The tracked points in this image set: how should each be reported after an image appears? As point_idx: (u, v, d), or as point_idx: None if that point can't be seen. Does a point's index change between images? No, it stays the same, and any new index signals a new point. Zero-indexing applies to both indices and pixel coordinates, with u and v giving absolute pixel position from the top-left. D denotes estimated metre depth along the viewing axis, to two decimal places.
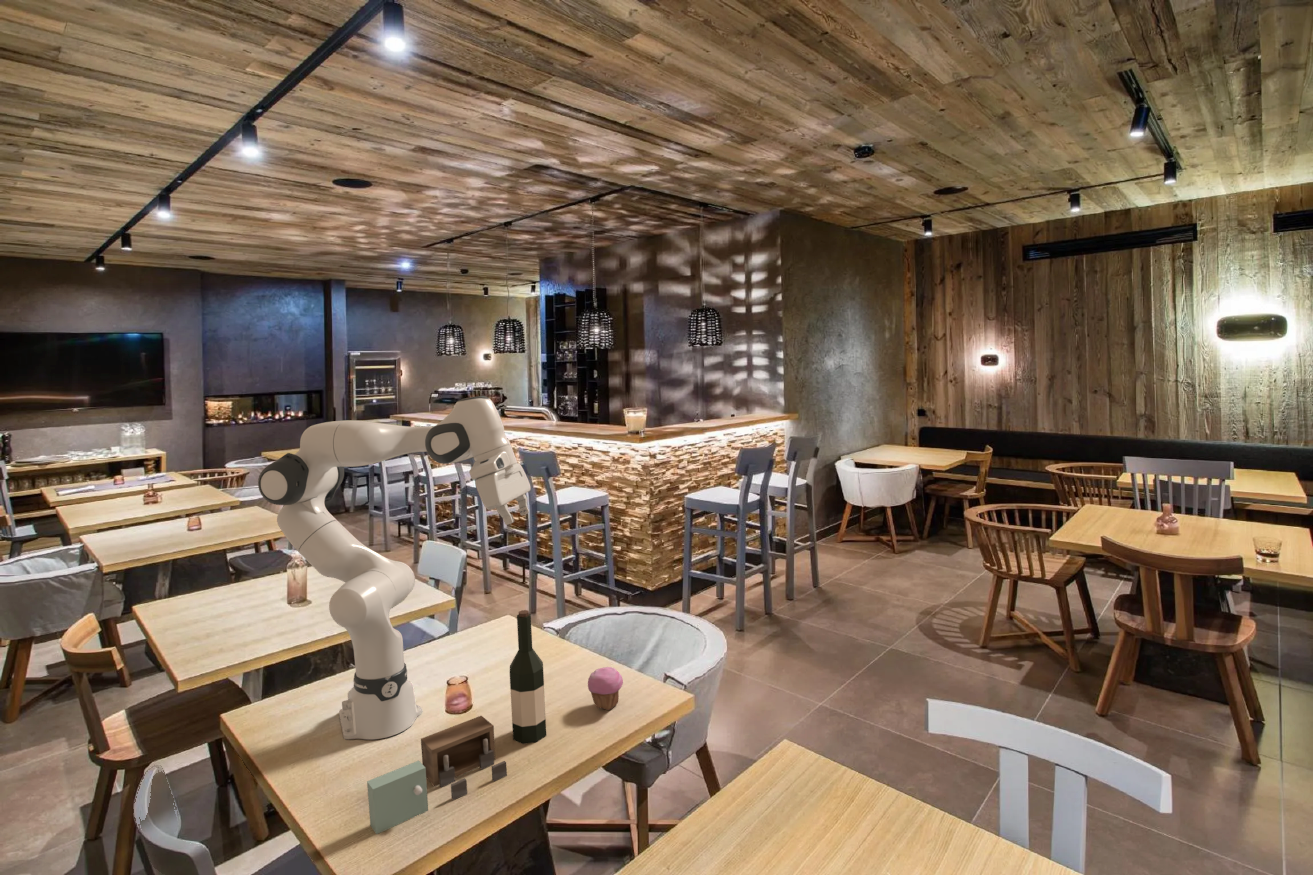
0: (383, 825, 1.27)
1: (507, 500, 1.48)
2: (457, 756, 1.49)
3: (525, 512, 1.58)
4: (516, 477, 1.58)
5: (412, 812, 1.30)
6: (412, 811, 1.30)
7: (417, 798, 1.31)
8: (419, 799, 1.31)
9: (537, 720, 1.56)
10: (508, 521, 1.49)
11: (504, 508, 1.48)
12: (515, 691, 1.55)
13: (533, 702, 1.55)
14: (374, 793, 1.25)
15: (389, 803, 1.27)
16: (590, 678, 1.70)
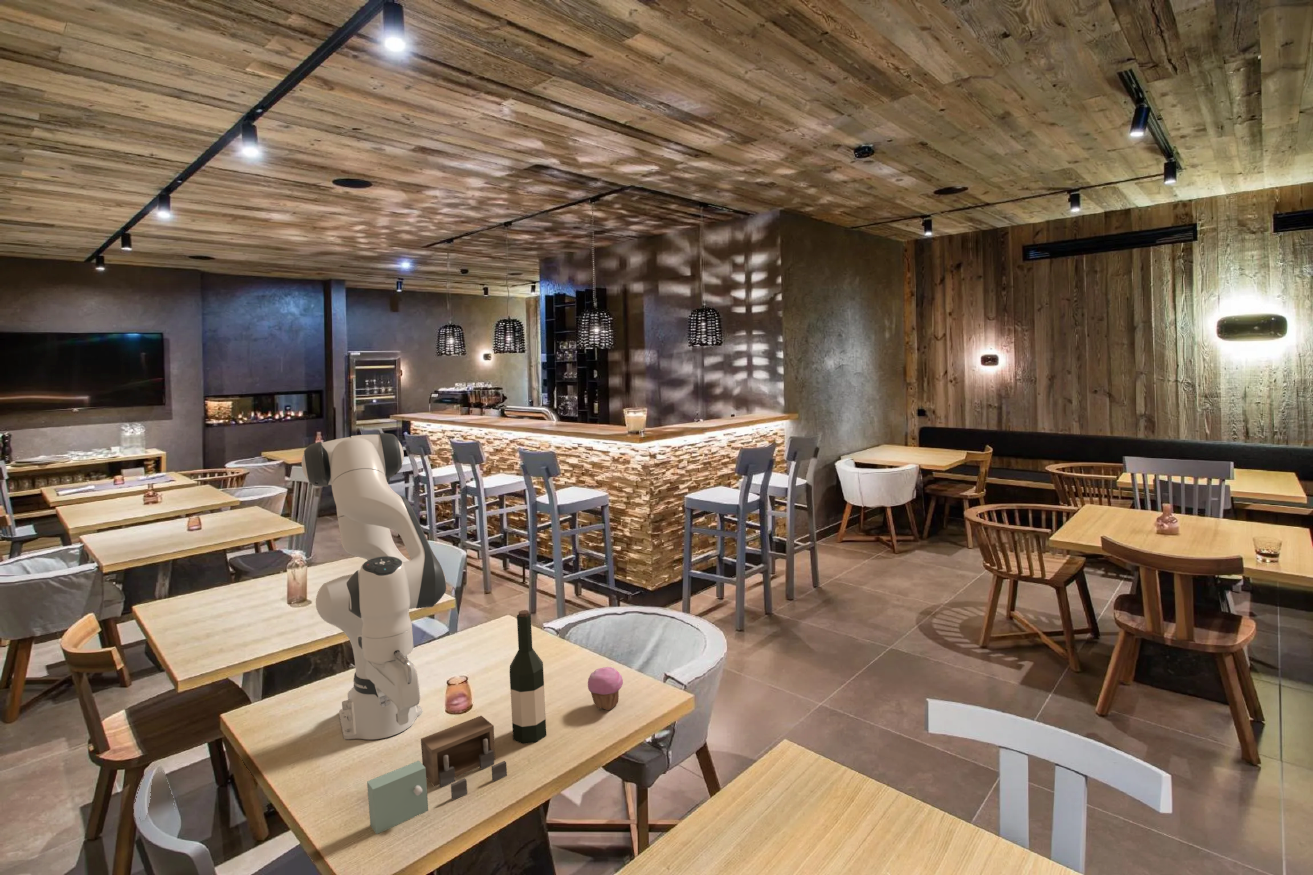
0: (383, 825, 1.27)
1: (371, 680, 1.31)
2: (457, 756, 1.49)
3: None
4: (389, 678, 1.24)
5: (412, 812, 1.30)
6: (412, 811, 1.30)
7: (417, 799, 1.31)
8: (419, 799, 1.31)
9: (537, 720, 1.56)
10: None
11: None
12: (515, 691, 1.55)
13: (533, 702, 1.55)
14: (374, 793, 1.25)
15: (389, 803, 1.27)
16: (590, 678, 1.70)
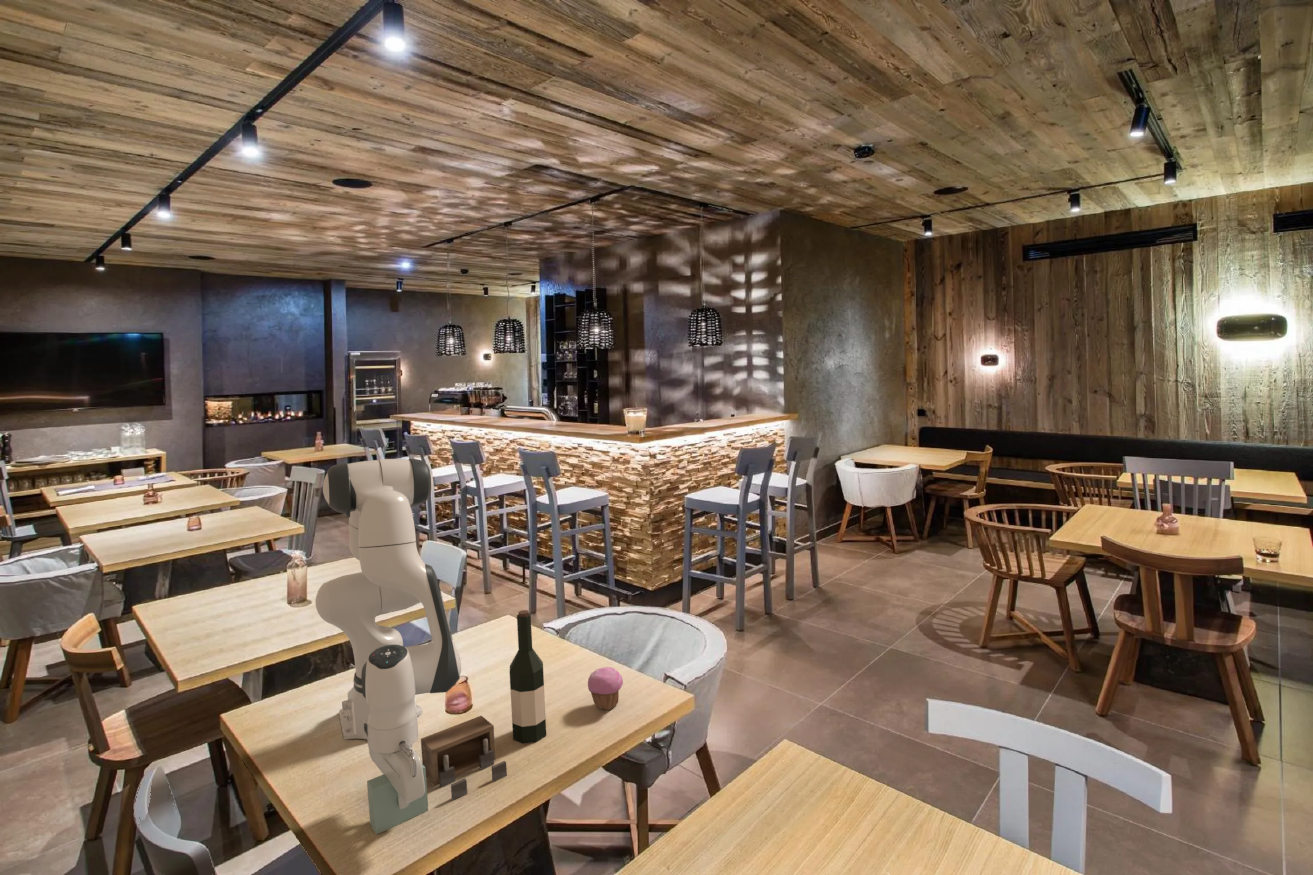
0: (383, 825, 1.27)
1: (377, 766, 1.33)
2: (457, 756, 1.49)
3: None
4: (394, 768, 1.25)
5: (412, 812, 1.30)
6: (412, 811, 1.30)
7: None
8: (419, 799, 1.31)
9: (537, 720, 1.56)
10: None
11: None
12: (515, 691, 1.55)
13: (533, 702, 1.55)
14: (374, 793, 1.25)
15: (389, 802, 1.27)
16: (590, 678, 1.70)
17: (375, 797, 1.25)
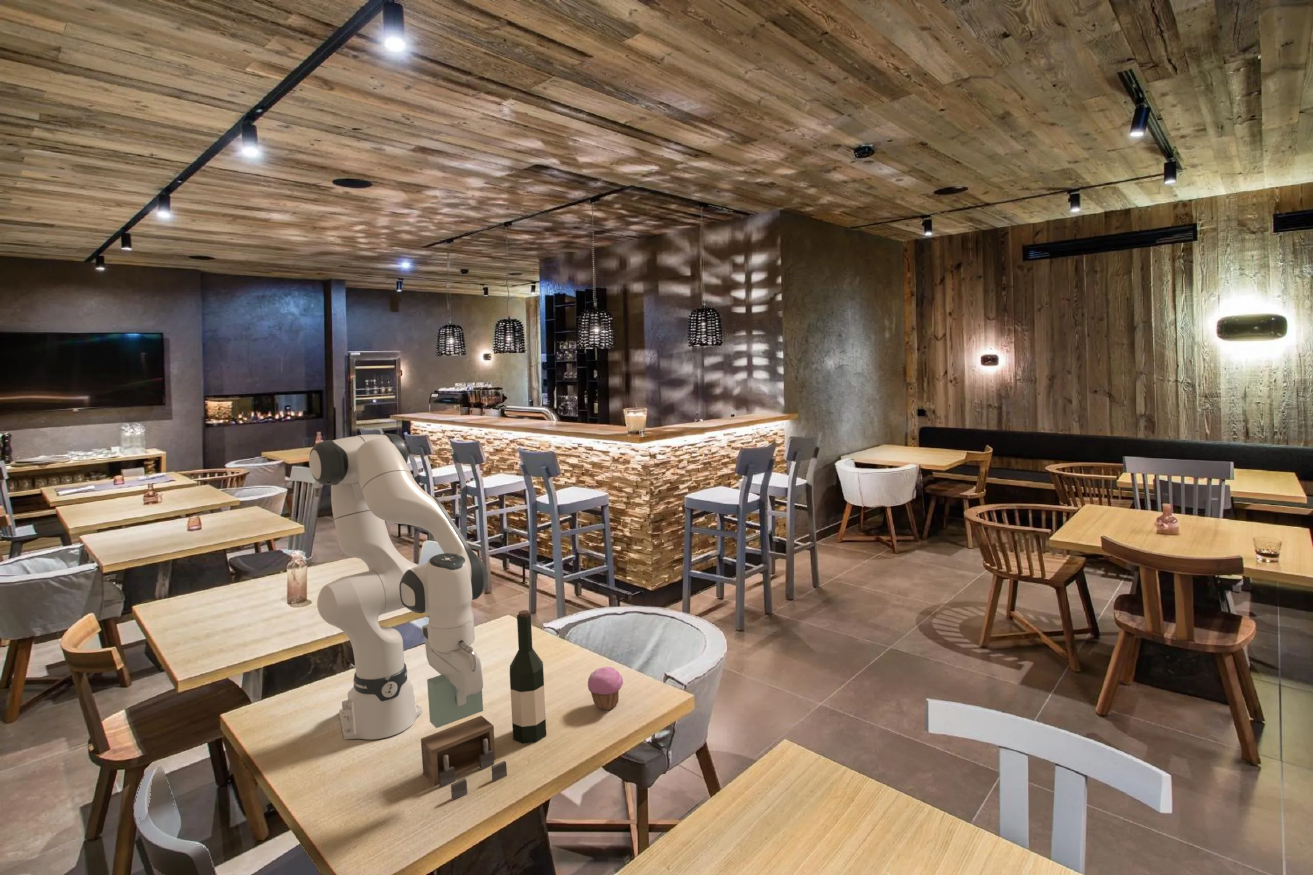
0: (442, 720, 1.34)
1: (435, 668, 1.41)
2: (457, 756, 1.49)
3: None
4: (454, 666, 1.33)
5: (468, 711, 1.38)
6: (468, 710, 1.38)
7: (473, 698, 1.39)
8: (474, 699, 1.39)
9: (537, 720, 1.56)
10: None
11: None
12: (515, 691, 1.55)
13: (533, 702, 1.55)
14: (434, 689, 1.33)
15: (448, 699, 1.35)
16: (590, 678, 1.70)
17: (435, 693, 1.33)
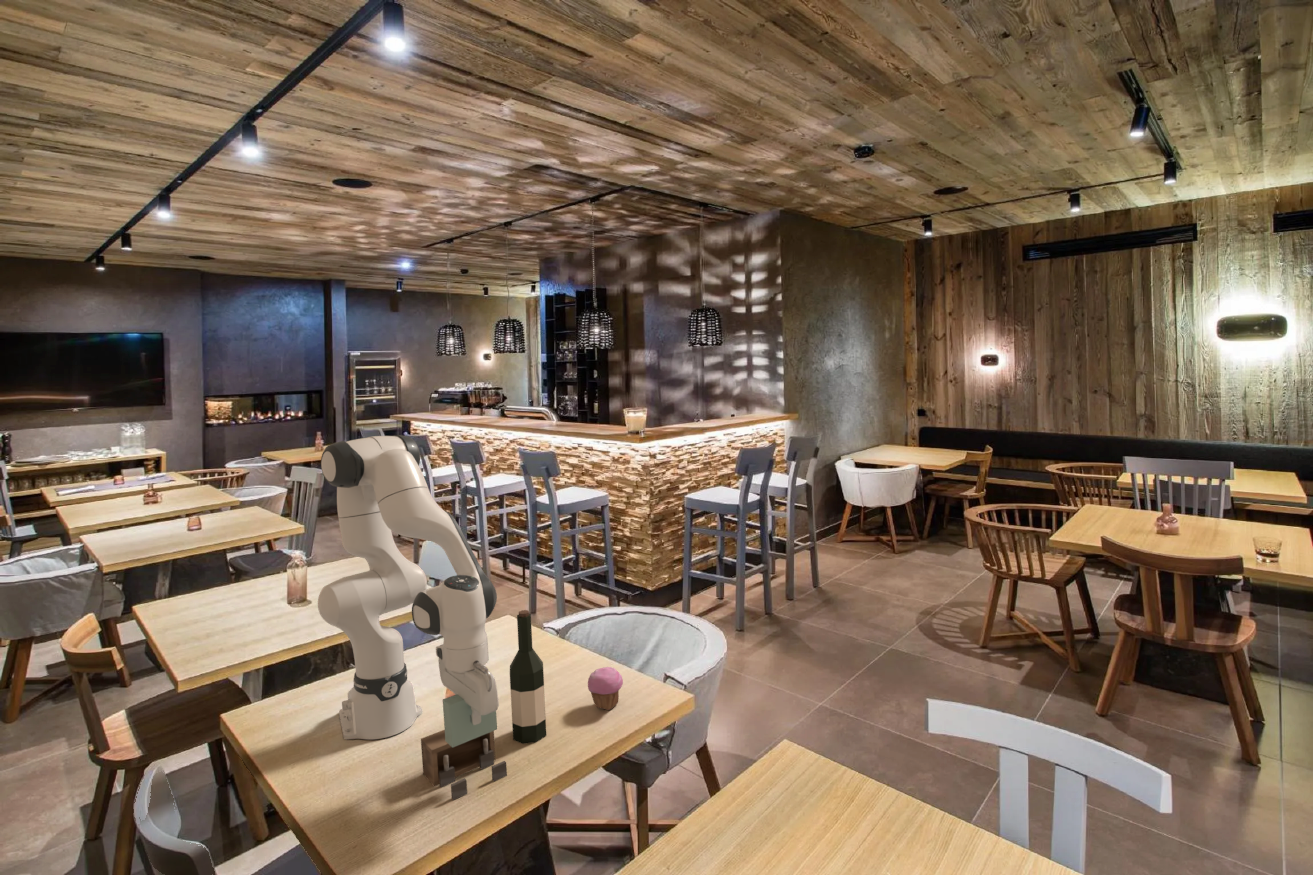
0: (458, 739, 1.37)
1: (449, 688, 1.43)
2: (457, 756, 1.49)
3: None
4: (469, 686, 1.35)
5: (483, 729, 1.40)
6: (483, 728, 1.40)
7: (488, 717, 1.41)
8: (489, 718, 1.41)
9: (537, 720, 1.56)
10: None
11: None
12: (515, 691, 1.55)
13: (533, 702, 1.55)
14: (450, 709, 1.35)
15: (463, 719, 1.37)
16: (590, 678, 1.70)
17: (451, 713, 1.36)
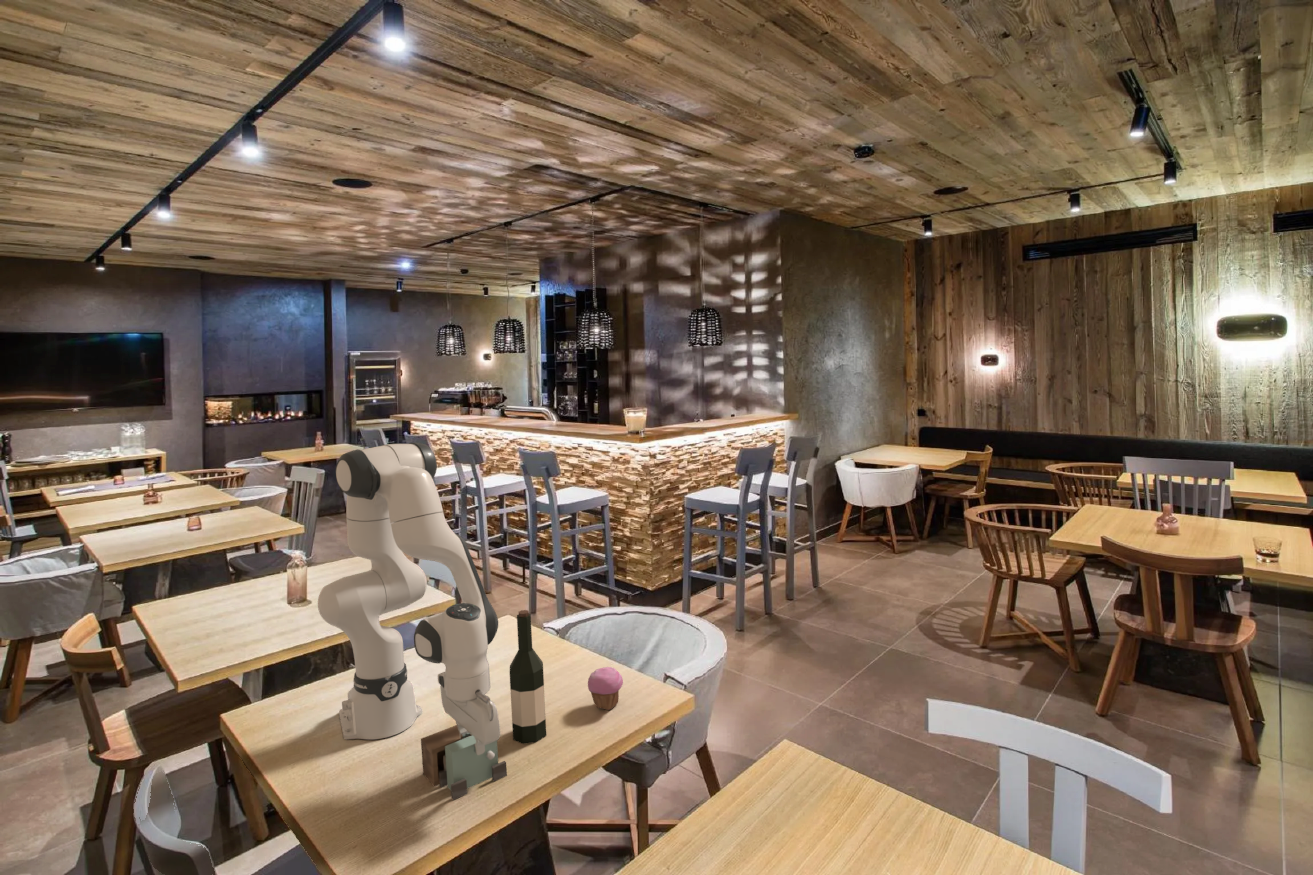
0: None
1: (451, 716, 1.44)
2: None
3: None
4: (471, 714, 1.36)
5: (485, 775, 1.42)
6: (485, 774, 1.42)
7: (490, 763, 1.42)
8: (490, 764, 1.42)
9: (537, 720, 1.56)
10: None
11: None
12: (515, 691, 1.55)
13: (533, 702, 1.55)
14: (452, 756, 1.37)
15: (465, 766, 1.39)
16: (590, 678, 1.70)
17: (454, 760, 1.37)
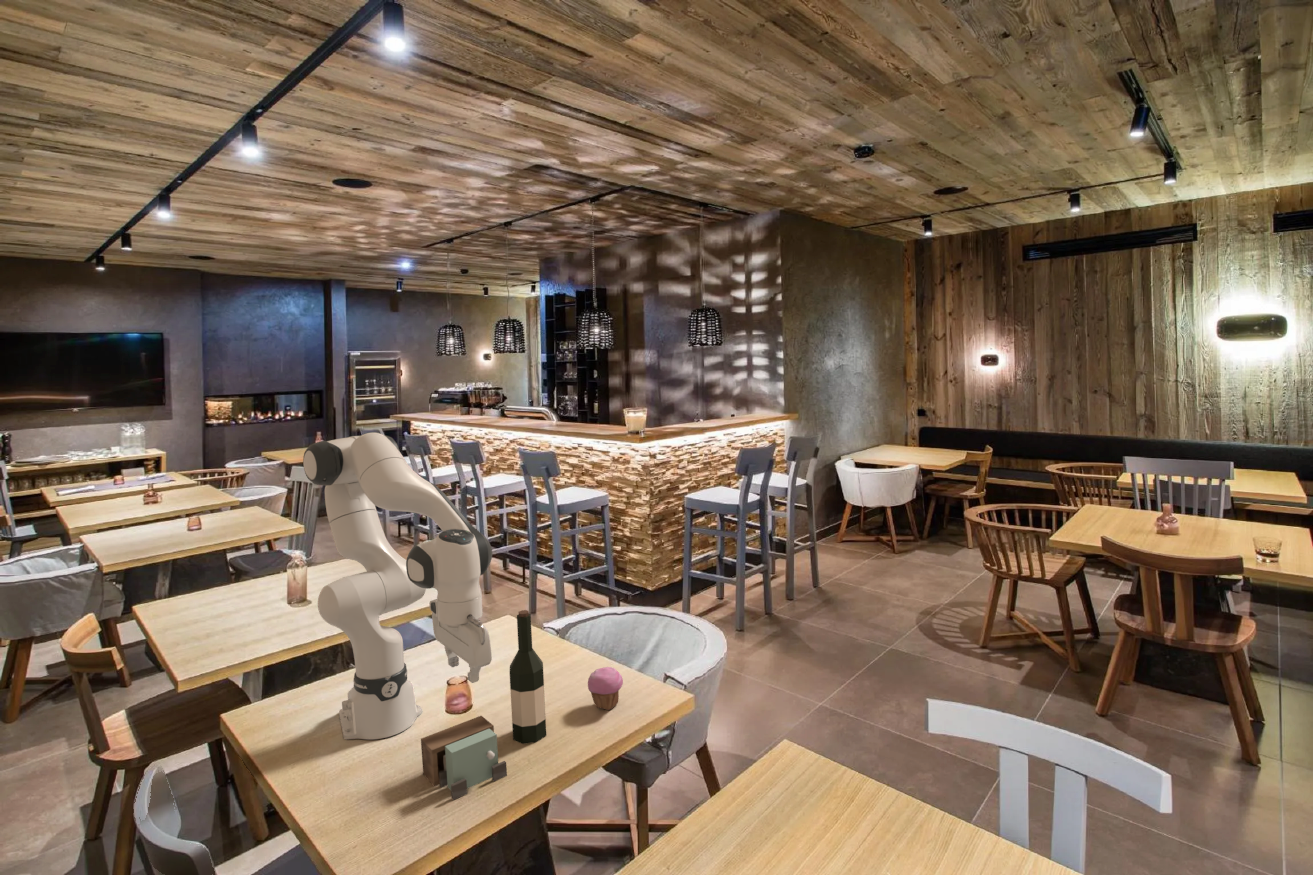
0: None
1: (442, 643, 1.42)
2: None
3: None
4: (462, 639, 1.35)
5: (485, 775, 1.42)
6: (485, 774, 1.42)
7: (490, 763, 1.42)
8: (490, 764, 1.42)
9: (537, 720, 1.56)
10: None
11: None
12: (515, 691, 1.55)
13: (533, 702, 1.55)
14: (452, 756, 1.37)
15: (465, 766, 1.39)
16: (590, 678, 1.70)
17: (454, 760, 1.37)
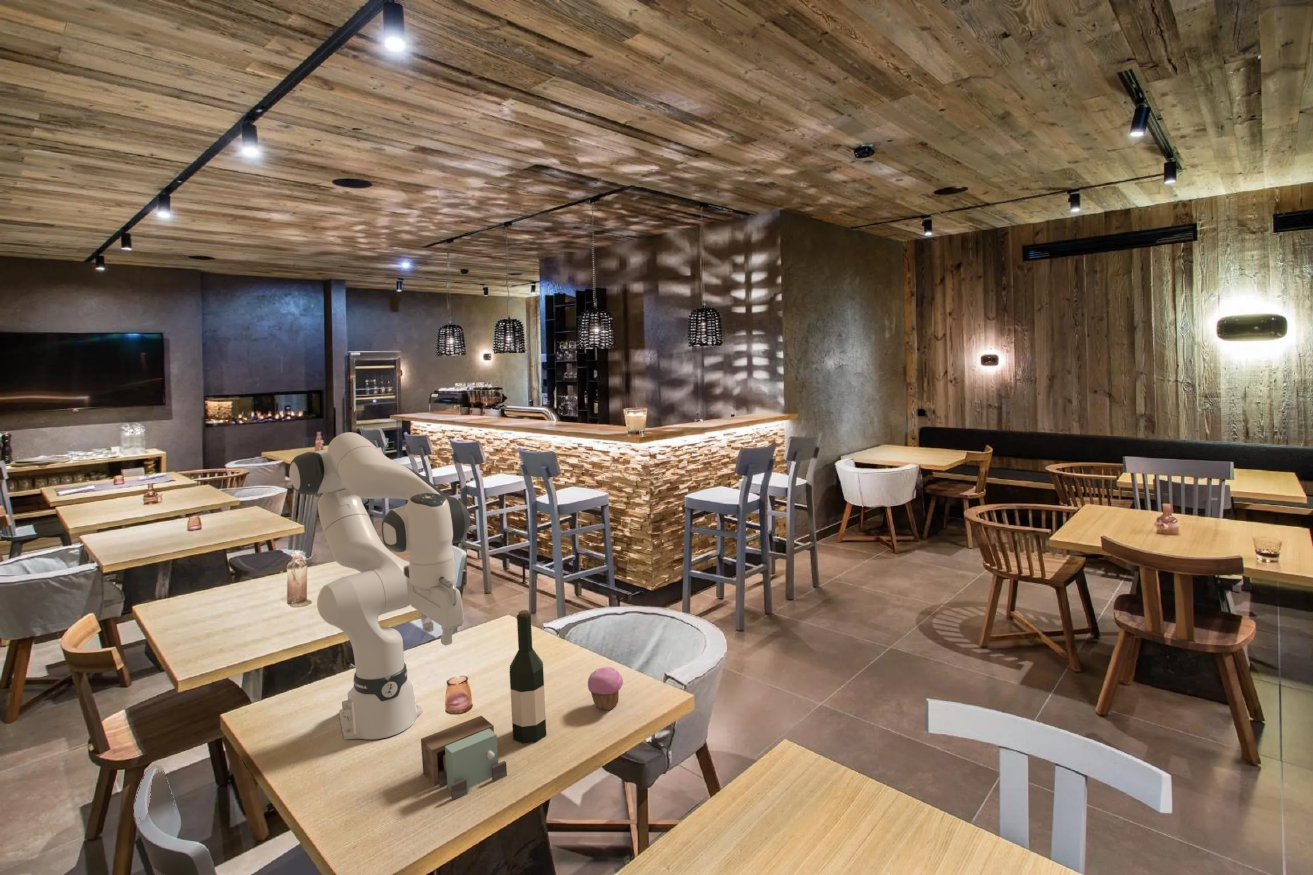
0: None
1: (416, 608, 1.42)
2: None
3: None
4: (435, 602, 1.35)
5: (485, 775, 1.42)
6: (485, 774, 1.42)
7: (489, 763, 1.42)
8: (490, 764, 1.42)
9: (537, 720, 1.56)
10: None
11: None
12: (515, 691, 1.55)
13: (533, 702, 1.55)
14: (452, 756, 1.37)
15: (465, 766, 1.39)
16: (590, 678, 1.70)
17: (454, 760, 1.37)
